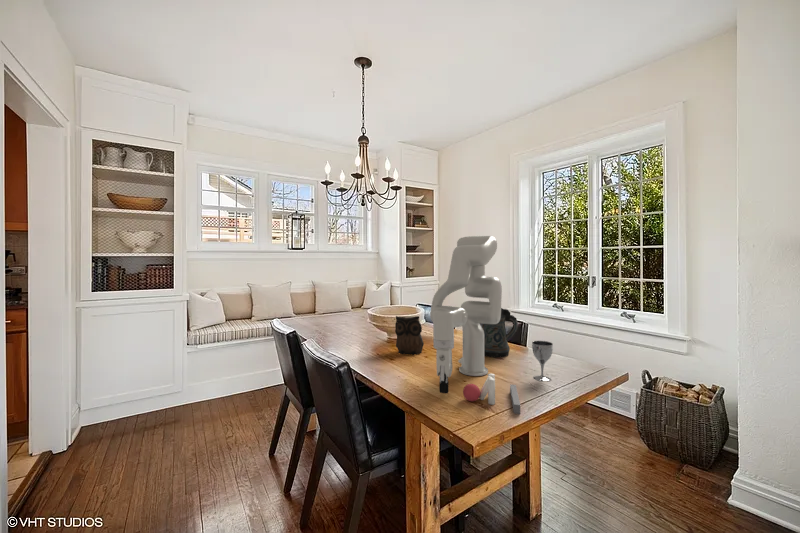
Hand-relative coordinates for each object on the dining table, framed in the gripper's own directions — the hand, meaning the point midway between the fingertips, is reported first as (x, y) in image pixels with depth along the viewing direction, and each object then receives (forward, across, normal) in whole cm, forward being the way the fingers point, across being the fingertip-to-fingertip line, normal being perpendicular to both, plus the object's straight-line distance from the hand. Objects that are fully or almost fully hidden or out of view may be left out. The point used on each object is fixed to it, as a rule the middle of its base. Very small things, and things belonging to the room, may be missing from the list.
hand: (444, 392), depth 130 cm
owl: (+2, +55, +24) cm, 60 cm away
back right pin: (+2, -2, -17) cm, 17 cm away
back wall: (+2, 0, -25) cm, 25 cm away
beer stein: (+2, +62, -20) cm, 65 cm away
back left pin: (+2, +2, -17) cm, 17 cm away
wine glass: (+2, +27, -38) cm, 47 cm away
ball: (-2, -2, -10) cm, 10 cm away
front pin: (+1, 0, -13) cm, 13 cm away
